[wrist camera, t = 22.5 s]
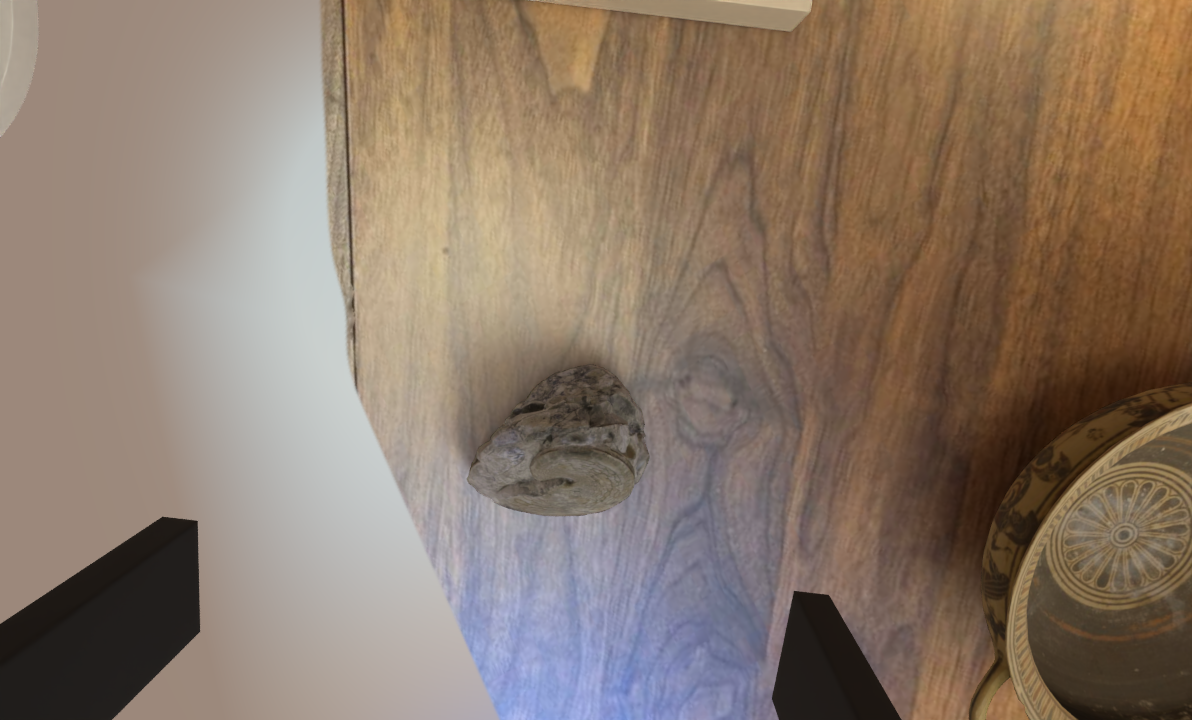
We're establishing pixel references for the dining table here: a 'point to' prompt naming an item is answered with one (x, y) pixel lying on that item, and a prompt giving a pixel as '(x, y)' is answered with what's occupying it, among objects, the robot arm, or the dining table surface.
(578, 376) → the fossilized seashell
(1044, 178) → the dining table surface
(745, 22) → the divided tray
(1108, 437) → the ceramic bowl
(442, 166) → the dining table surface
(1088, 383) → the dining table surface
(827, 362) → the dining table surface
